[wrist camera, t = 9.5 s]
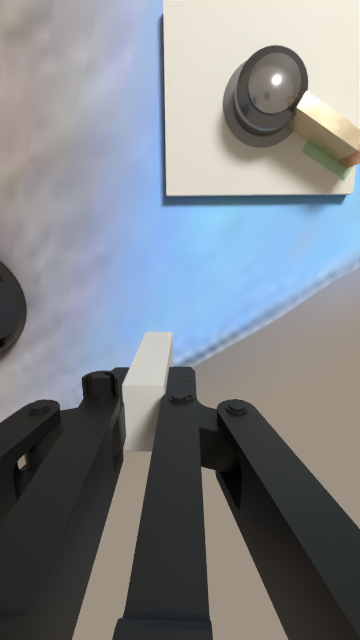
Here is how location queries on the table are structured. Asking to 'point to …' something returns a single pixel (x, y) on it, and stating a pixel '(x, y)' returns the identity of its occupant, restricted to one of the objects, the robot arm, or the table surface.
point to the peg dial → (290, 105)
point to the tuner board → (220, 82)
